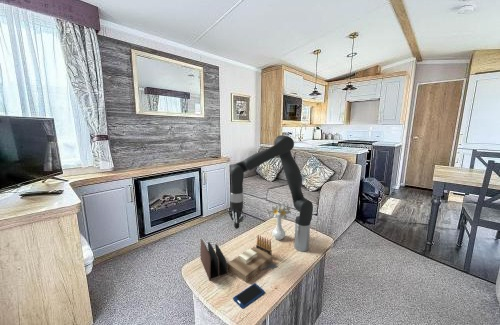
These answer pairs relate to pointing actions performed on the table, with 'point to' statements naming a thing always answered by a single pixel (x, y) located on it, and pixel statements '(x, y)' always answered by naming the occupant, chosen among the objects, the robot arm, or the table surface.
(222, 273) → the letter holder
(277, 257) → the table surface
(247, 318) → the table surface
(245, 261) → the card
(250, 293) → the cell phone
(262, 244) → the ammunition clip
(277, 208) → the flower vase
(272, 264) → the mat
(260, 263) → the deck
